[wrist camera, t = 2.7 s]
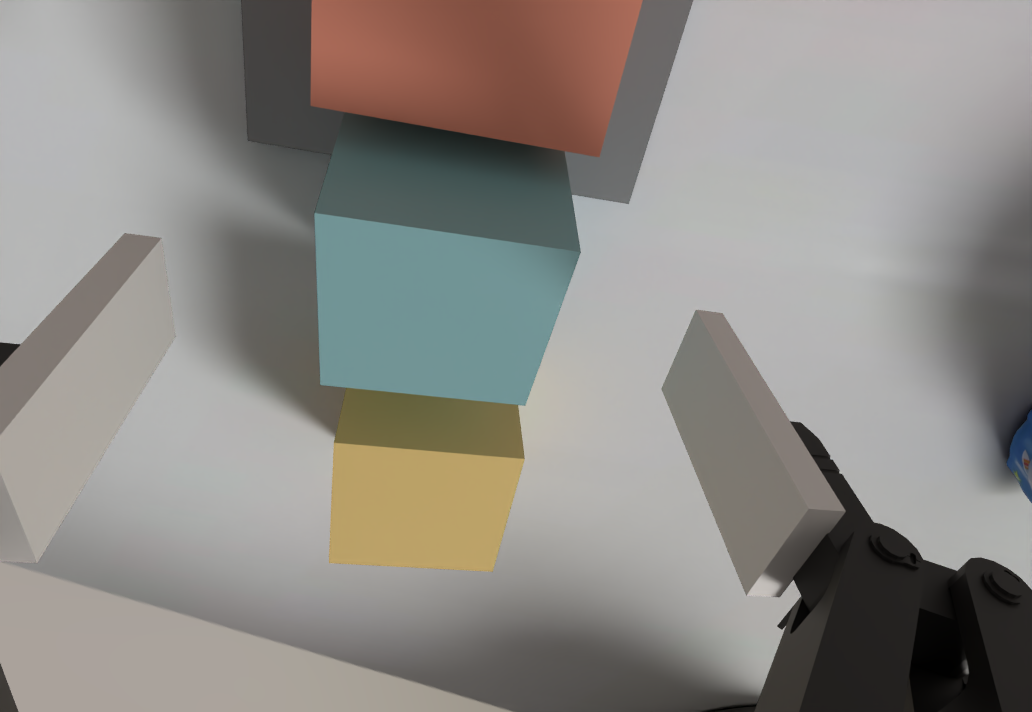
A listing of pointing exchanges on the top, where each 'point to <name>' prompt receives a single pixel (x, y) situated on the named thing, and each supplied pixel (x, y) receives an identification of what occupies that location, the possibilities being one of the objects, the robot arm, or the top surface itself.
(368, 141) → the teal brick
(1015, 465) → the snack cup
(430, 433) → the ochre brick
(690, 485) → the top surface
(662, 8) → the base
